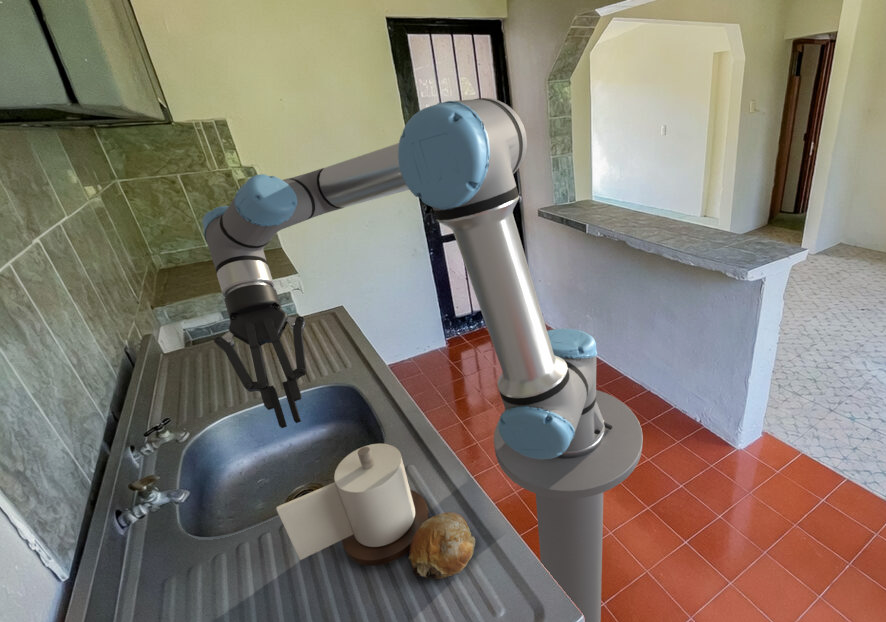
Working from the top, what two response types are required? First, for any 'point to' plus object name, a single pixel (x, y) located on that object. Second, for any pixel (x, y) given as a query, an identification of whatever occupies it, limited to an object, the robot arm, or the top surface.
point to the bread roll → (441, 546)
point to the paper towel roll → (353, 505)
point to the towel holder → (396, 548)
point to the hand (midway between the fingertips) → (290, 423)
